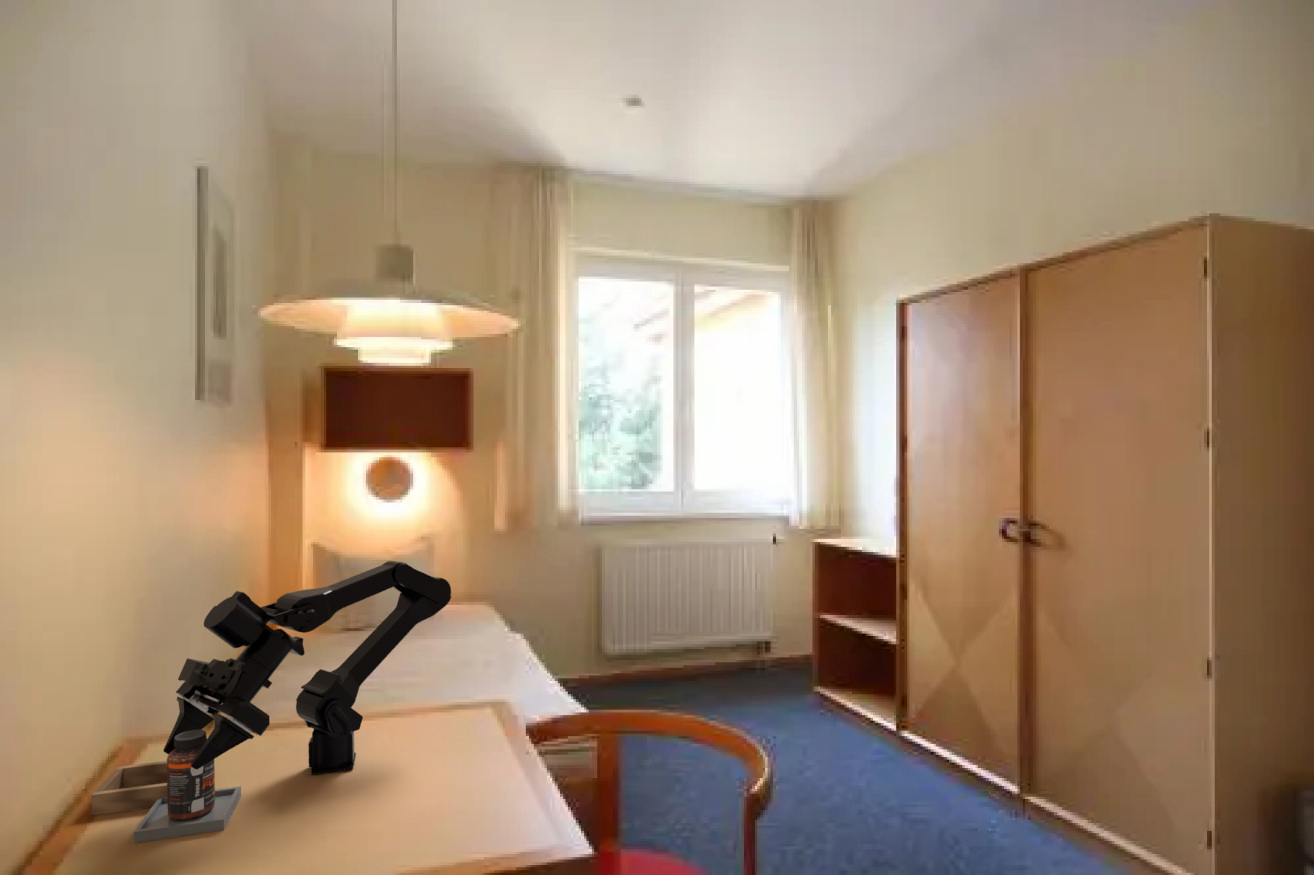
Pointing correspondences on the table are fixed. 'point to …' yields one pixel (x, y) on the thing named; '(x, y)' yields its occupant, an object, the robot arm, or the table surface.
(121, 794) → the walnut collar
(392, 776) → the table surface
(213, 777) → the supplement bottle
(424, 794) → the table surface
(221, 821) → the slate tray
